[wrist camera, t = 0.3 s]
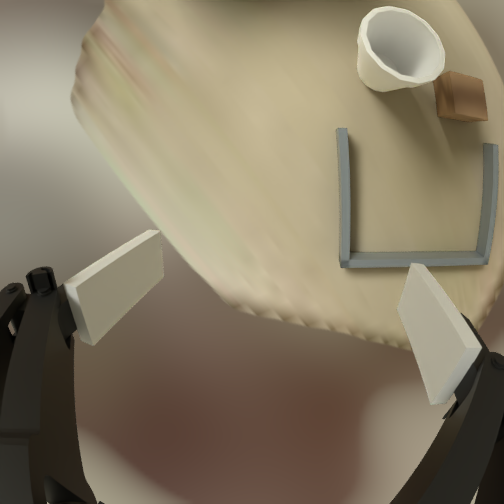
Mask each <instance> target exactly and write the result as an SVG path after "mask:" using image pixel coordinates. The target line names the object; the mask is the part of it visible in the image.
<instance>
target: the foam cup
mask: <svg viewBox="0 0 504 504" xmlns="http://www.w3.org/2000/svg"><path fill="white" fill-rule="evenodd" d="M357 43H358V46H359V48H358V62H357V71H358V74H359V77H360V79H361V80H362V81H363V83H364V84H365V85H366V86H368V87H369V88H371V89H373V90H374V91H380V92H387V91H392V90H396V89H401V88H405V87H409V88H414V87H417V86H421V85H424V84H427V83H429V82H431V81H433V80H435V79H436V78H437V77H438V75H439V74H440V73H441V72H442V70H443V69H444V63H445V51H444V48H443V46H442V43H441V41H440V38H439V36H438V35H437V33H436V32H435V31H434V30H433V29H432V27H431V26H430V25H429V24H428V23H427V22H426V21H425V20H424V19H422V18H420V17H419V16H417V15H416V14H414V13H412V12H411V11H409V10H406V9H402V8H398V7H393V6H385V7H380V8H375V9H373V10H372V11H370V12H369V13H368V14H367V15H366V16H365V17H364V18H363V20H362V22H361V25H360V28H359V34H358V39H357Z"/></svg>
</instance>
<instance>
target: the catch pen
mask: <svg viewBox="0 0 504 504" xmlns="http://www.w3.org/2000/svg"><path fill="white" fill-rule="evenodd" d="M336 137H337V151H338V170H339V204H340V241H339V262H340V267H341V268H370V267H410V265H411V263H418V264H424V265H425V266H459V265H487V264H488V261H489V256H490V251H491V245H492V239H493V232H494V225H495V217H496V207H497V194H498V145H495V144H487V143H483V157H484V172H483V197H482V210H481V219H480V228H479V235H478V242H477V248H476V251H432V252H350V167H349V147H348V133H347V128H337V129H336Z"/></svg>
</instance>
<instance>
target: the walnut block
mask: <svg viewBox="0 0 504 504" xmlns="http://www.w3.org/2000/svg"><path fill="white" fill-rule="evenodd" d="M433 84H434V90H435V97H436V105H437V114H438V117H443V118H449V119H455V120H460V121H466V122H474V121H488V116H487V107H486V100H485V93H484V87H483V81H482V80H481V79H477V78H474V77H471V76H467V75H463V74H460V73H456V72H452V71H448V72H446V73H444V74H442V75H440V76H438V77H437V78H436V79H435V80H433Z"/></svg>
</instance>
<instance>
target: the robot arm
mask: <svg viewBox="0 0 504 504" xmlns="http://www.w3.org/2000/svg"><path fill="white" fill-rule="evenodd" d="M163 277H164V268H163V256H162V244H161V231H157V230H148V231H146V232H144V233H142V234H141V235H139V236H137V237H136V238H134V239H132V240H130V241H129V242H128V243H126V244H124V245H122V246H121V247H119V248H117V249H116V250H114V251H112V252H111V253H109V254H108V255H106V256H104V257H103V258H101V259H100V260H98V261H96V262H95V263H93V264H92V265H90V266H89V267H87V268H85V269H84V270H82V271H81V272H79V273H78V274H76V275H75V276H73V277H72V278H70V279H69V280H67V281H66V282H64V283H63V284H62V285H61V286H59V287H58V288H57V284H56V280H55V277H54V272H53V269H52V268H51V267H40V268H36V269H34V270H32V271H30V272H29V273H28V274H27V275H26V279H27V282H28V285H29V289H30V292H31V294H26V293H25V290H24V286H23V284H21V283H11V284H8V285H7V286H6V287H5V288H3V289H2V290H1V292H0V504H47V502H48V503H49V504H97V501H96V498H95V496H94V494H93V491H92V490H91V488H90V486H89V484H88V483H87V481H86V479H85V476H84V472H83V467H82V461H81V456H80V449H79V441H78V433H77V425H76V413H75V397H74V337H73V334H72V333H73V332H74V331H76V330H77V331H78V333H79V336H80V339H81V341H83V342H86V343H88V344H90V345H93V346H94V345H95V344H96V343H97V342H98V341H99V340H100V338H102V337H103V335H105V334H106V333H107V332H108V331H109V329H111V328H112V327H113V326H114V325H115V324H116V323H117V322H118V321H119V319H121V318H122V317H123V316H124V315H125V314H126V313H127V312H128V311H129V310H130V309H131V308H132V307H133V306H134V305H135V304H136V303H137V302H138V301H139V300H140V299H141V298H142V297H143V296H144V295H145V294H146V293H147V292H148V291H149V290H150V289H152V287H154V286H155V285H156V284H157V283H158V282H159V281H160V280H161V279H162V278H163ZM397 311H398V313H399V316H400V318H401V321H402V323H403V326H404V328H405V331H406V333H407V336H408V339H409V341H410V344H411V347H412V349H413V352H414V355H415V358H416V360H417V363H418V366H419V369H420V372H421V375H422V379H423V382H424V385H425V388H426V391H427V394H428V398H429V402H430V405H433V404H444V403H447V401H448V400H449V399H450V397H451V396H452V395H453V393H455V396H456V399H457V400H456V401H455V403H454V404H453V405H452V407H451V408H450V409H449V411H448V412H447V413H446V414H445V415H444V417H443V419H445V418H446V419H445V421H444V423H443V425H442V427H441V429H440V430H439V432H438V434H437V436H436V438H435V440H434V441H433V443H432V444H431V446H430V448H429V449H428V451H427V453H426V454H425V456H424V458H423V459H422V461H421V462H420V464H419V465H418V467H417V468H416V469H415V471H414V472H413V474H412V475H411V477H410V478H409V480H408V481H407V482H406V484H405V485H404V486H403V487H402V489H401V490H400V491H399V493H398V494H397V495H396V496H395V498H394V499H393V500H392V501H391V502H390V504H470V503H471V501H472V499H473V497H474V495H475V493H476V491H477V489H478V487H479V489H478V493H477V496H476V500H475V504H504V356H502V355H501V354H498V353H496V352H489V350H488V348H487V347H486V345H485V343H484V342H483V340H482V339H481V337H480V335H478V332H477V331H476V329H474V326H473V325H472V323H471V322H470V320H469V319H468V318H467V317H465V316H464V315H463V314H462V313H460V312H459V311H458V309H457V308H456V306H455V305H454V304H453V302H452V301H451V299H450V298H449V297H448V295H447V294H446V293H445V291H444V290H443V288H442V287H441V286H440V285H439V283H438V282H437V281H436V279H435V278H434V277H433V275H432V274H431V273H430V272H429V270H428V269H427V268H426V267H425V265H424V264H418V263H411V265H410V268H409V272H408V275H407V279H406V282H405V285H404V289H403V292H402V295H401V298H400V301H399V304H398V307H397ZM10 321H11V324H12V326H13V328H14V331H15V333H14V334H13V335H12V334H11V332H10V330H9V328H8V324H9V322H10ZM98 504H104V503H102V502H101V501H100V502H99V503H98Z"/></svg>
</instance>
